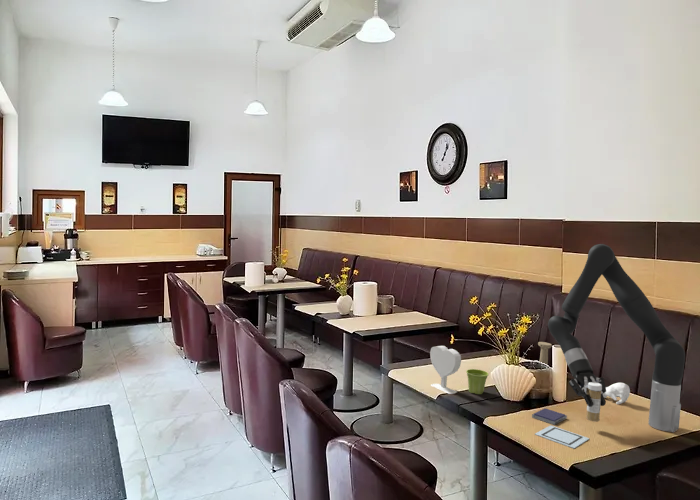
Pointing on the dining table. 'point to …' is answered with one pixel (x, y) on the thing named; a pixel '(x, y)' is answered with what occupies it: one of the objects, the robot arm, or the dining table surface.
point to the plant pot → (476, 380)
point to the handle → (544, 351)
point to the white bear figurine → (618, 392)
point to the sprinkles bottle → (594, 401)
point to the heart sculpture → (445, 365)
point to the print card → (562, 436)
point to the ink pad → (549, 416)
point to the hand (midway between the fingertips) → (597, 405)
